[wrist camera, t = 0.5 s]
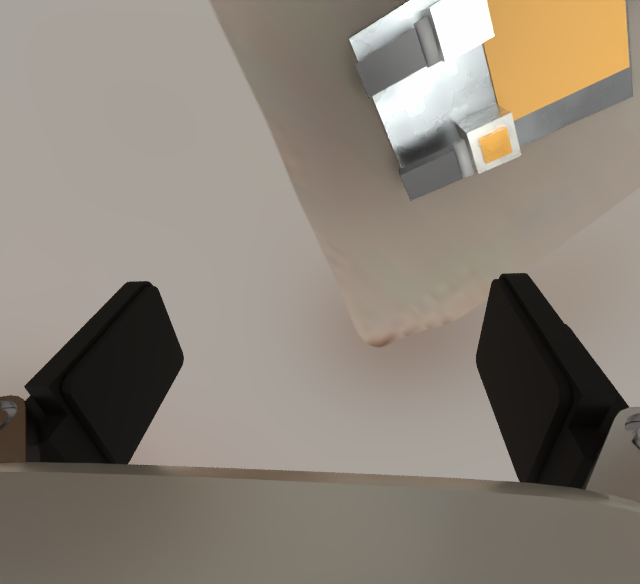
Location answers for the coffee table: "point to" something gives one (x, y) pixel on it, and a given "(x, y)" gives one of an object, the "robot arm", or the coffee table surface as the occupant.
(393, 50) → the lever
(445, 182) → the lever
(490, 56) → the pad
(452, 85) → the panel
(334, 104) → the coffee table surface
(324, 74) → the coffee table surface
